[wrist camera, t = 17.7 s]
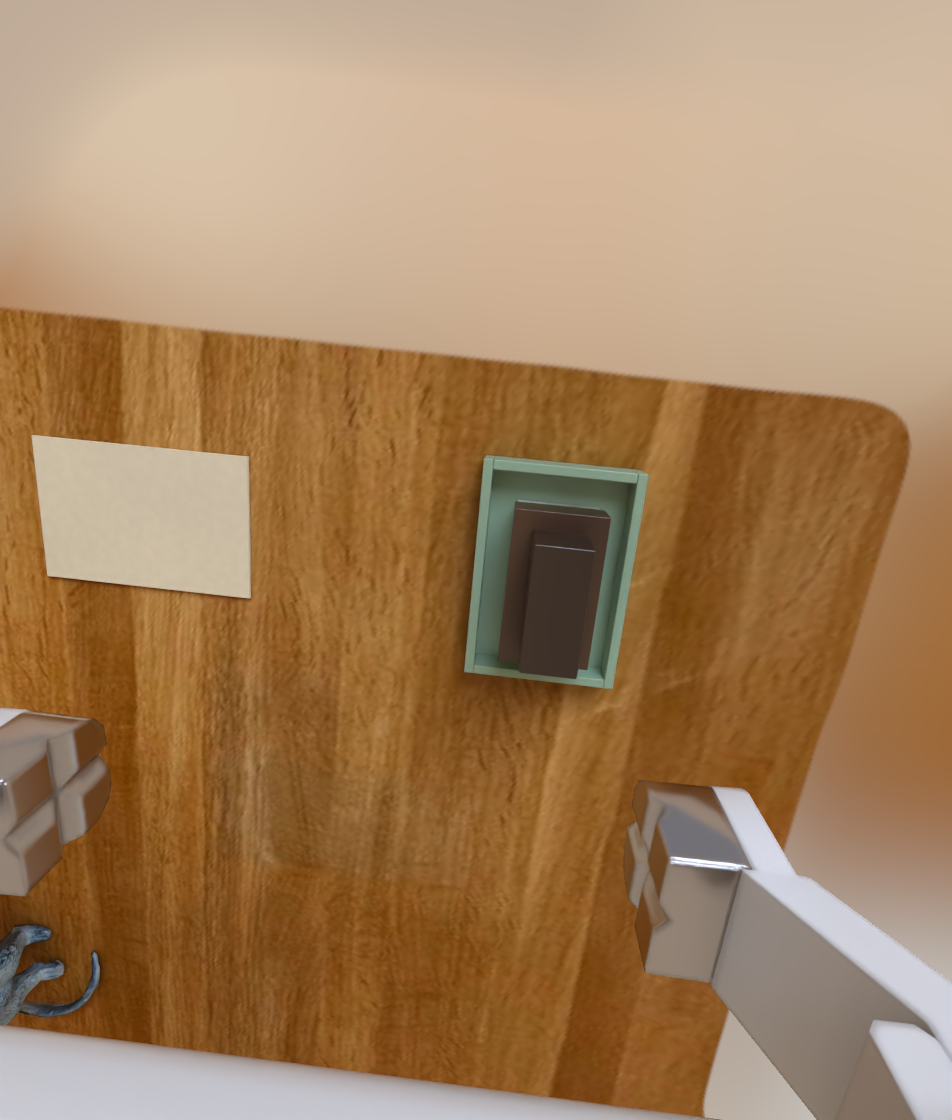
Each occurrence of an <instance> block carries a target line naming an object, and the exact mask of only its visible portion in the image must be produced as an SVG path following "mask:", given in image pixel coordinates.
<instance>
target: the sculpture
mask: <svg viewBox="0 0 952 1120" xmlns="http://www.w3.org/2000/svg"><path fill="white" fill-rule="evenodd" d="M51 936H52V934H51V930H49V929H47V928H45V927H43V926H37V925H17V926H14V928H13V929H12V931H11V932H10V933H9V934H8V935H7V936H5V937H4V938H3V939H2V940H1V941H0V1024H1V1025H7V1024H8V1023H9V1022H10V1021H11V1020H12V1019H13V1018H14V1017H15V1015H16V1014H17V1013H18V1012H20V1013H24V1014H28V1015H30V1014H31V1015H36V1016H39V1017H54V1016H61V1015H64V1014H67V1013H70V1012H73V1011H75V1010H77V1009H79V1008H80V1007H82V1006H83V1005H84V1004H85V1003H86V1002H87V1000H88V999H89V998H90V996H91V995H92V993H93V992H94V991H95V989H96V988H97V987H98V985H99V978H100V966H99V964H98V956H97V954H96V953H95V952H94V950H93V951H92V953H91V955H92V977H91V979H90V982H89V985H88V987H87V988H86V990H85V992H84V994H83V996H81V997H80V998H79V999H78V1000H77V999H76V1000H75V1001H74V1002H72V1003H70V1004H65V1005H64V1004H56V1003H54V1002H52V1003H51V1002H48V1003H47V1002H45V1003H42V1002H41V1003H39V1002H31V1001H24V999H25V998H26V996H27V994H28V993H29V992H30V991H31V990H32V989H33V988H34V987H35V986H36V985H37V984H38V983H39V982H40V981H41V980H50V979H56V978H58V977H59V976H61V975H63V974H64V973H63V972H64V970H65V969H64V965H62V964H63V963H62V962H61V961H59V960H56V961H55V963H53V962H52V963H50V962H48V963H46V962H45V963H42V962H41V963H37V962H36V960H35V963H34V964H33V965H31V966H30V967H29V968H27V969H26V970H24V971H23V972H21V973H19V974H16V975H15V973H16V969H17V967H18V964H19V962H20V957H21V954H22V951H23V948H24V947H25V946H26V945H29V944H31V943H36V942H41V941H46V940H47V939H50V937H51Z"/></svg>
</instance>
